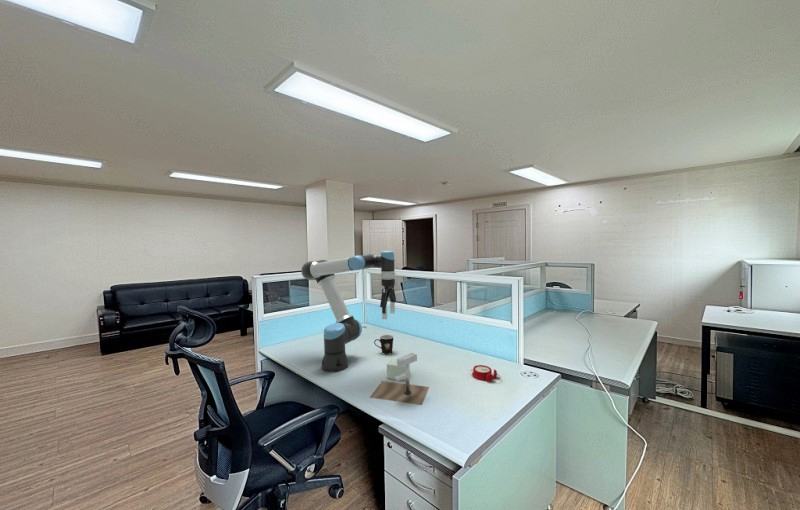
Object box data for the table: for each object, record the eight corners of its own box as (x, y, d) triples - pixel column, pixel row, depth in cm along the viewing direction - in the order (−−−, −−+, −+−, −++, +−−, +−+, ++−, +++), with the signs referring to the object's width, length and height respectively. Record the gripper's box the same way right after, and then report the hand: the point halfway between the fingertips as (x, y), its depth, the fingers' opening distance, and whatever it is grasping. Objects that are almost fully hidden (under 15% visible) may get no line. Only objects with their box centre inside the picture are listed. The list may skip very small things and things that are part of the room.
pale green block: (386, 379, 155) (386, 364, 155) (391, 373, 163) (391, 358, 162) (405, 382, 152) (405, 366, 152) (410, 375, 160) (409, 360, 159)
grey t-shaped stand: (398, 398, 133) (398, 362, 132) (394, 395, 135) (393, 360, 134) (417, 388, 141) (416, 354, 141) (412, 386, 144) (412, 352, 143)
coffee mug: (395, 350, 196) (395, 335, 195) (390, 355, 187) (390, 339, 187) (379, 348, 199) (378, 333, 199) (373, 353, 191) (373, 337, 191)
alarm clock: (476, 363, 165) (501, 364, 155) (478, 374, 165) (504, 376, 155) (466, 369, 158) (492, 370, 148) (468, 381, 157) (495, 384, 147)
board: (369, 399, 136) (369, 395, 136) (382, 382, 151) (382, 379, 151) (421, 407, 129) (421, 403, 129) (429, 388, 144) (429, 385, 144)
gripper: (387, 281, 156) (387, 322, 157) (400, 276, 180) (401, 311, 181) (373, 281, 158) (374, 321, 159) (388, 275, 182) (389, 310, 183)
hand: (388, 316), depth 170 cm, fingers open, 13 cm apart
